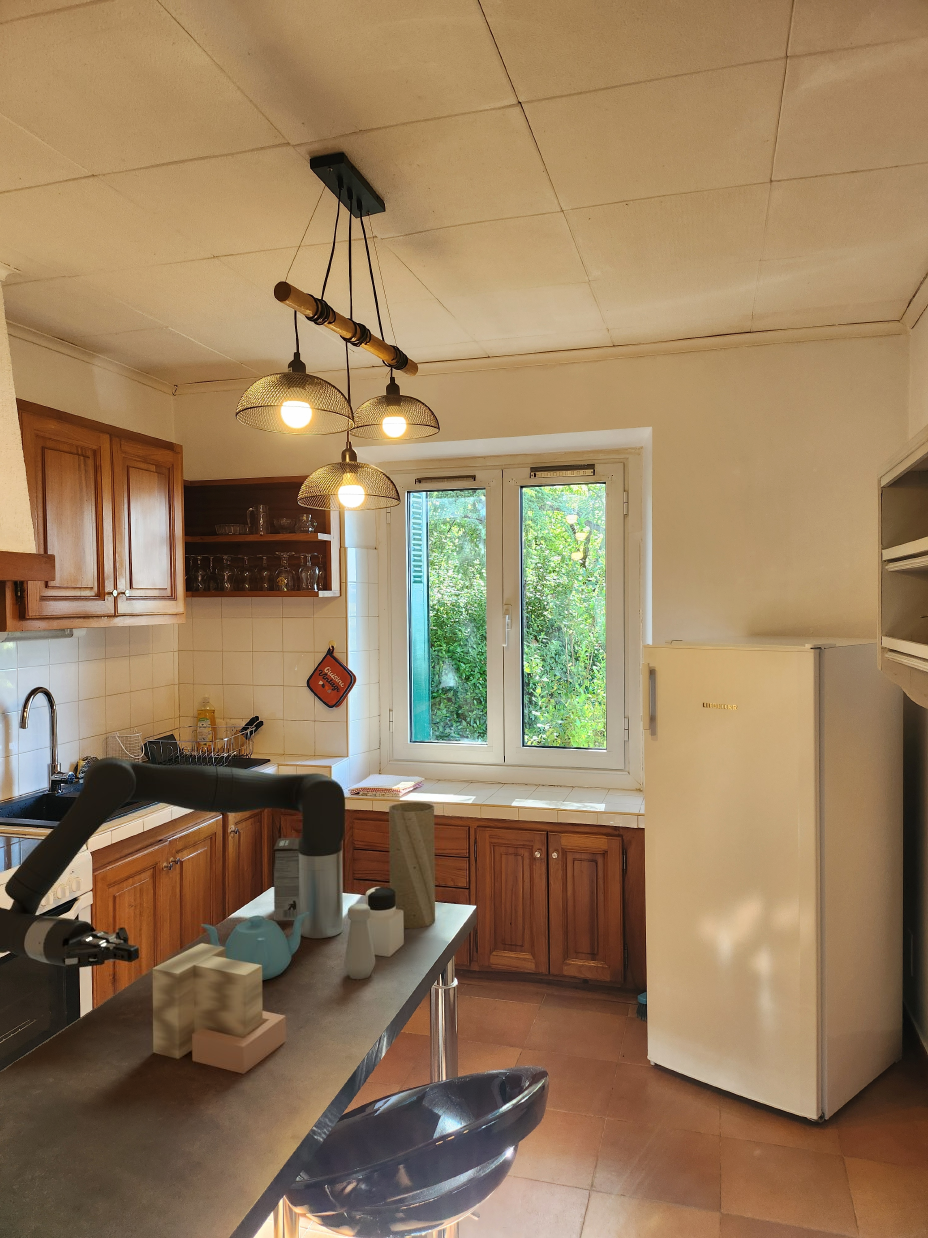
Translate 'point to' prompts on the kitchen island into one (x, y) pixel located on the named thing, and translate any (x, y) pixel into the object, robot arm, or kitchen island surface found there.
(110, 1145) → the kitchen island surface
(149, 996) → the kitchen island surface
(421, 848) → the tube
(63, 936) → the robot arm
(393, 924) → the medicine bottle
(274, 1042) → the frame
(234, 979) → the t block
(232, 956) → the teapot
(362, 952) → the salt shaker
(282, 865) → the coffee box
